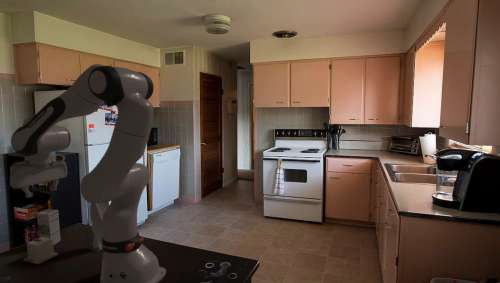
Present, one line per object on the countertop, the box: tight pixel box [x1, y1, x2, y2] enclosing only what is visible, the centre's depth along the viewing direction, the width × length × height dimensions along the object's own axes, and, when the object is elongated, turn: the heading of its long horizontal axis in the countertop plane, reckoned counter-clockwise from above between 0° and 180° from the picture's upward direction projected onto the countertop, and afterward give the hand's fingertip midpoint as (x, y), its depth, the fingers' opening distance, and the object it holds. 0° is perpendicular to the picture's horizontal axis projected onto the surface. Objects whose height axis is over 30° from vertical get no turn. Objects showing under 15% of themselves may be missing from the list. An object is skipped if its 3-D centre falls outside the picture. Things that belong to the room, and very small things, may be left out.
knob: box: [26, 237, 55, 261], centre depth 116 cm, size 6×6×7 cm
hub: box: [23, 251, 59, 265], centre depth 116 cm, size 8×8×5 cm
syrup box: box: [36, 209, 61, 246], centre depth 128 cm, size 6×6×14 cm
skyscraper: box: [86, 202, 110, 252], centre depth 125 cm, size 8×8×28 cm
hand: (41, 193), depth 116 cm, fingers open, 8 cm apart
